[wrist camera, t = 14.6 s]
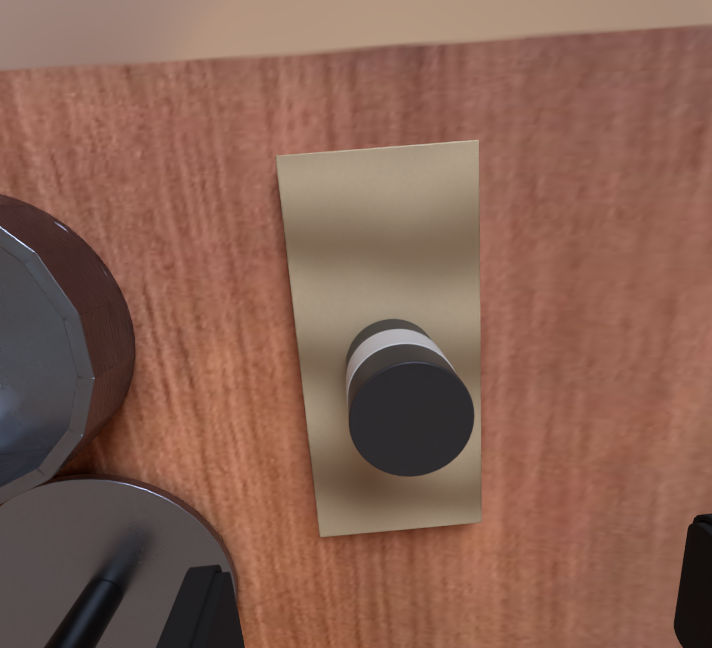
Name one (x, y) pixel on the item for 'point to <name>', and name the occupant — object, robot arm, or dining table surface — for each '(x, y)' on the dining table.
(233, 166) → the dining table surface
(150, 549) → the lid
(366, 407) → the cylinder
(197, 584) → the robot arm
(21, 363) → the pan
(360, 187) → the board
